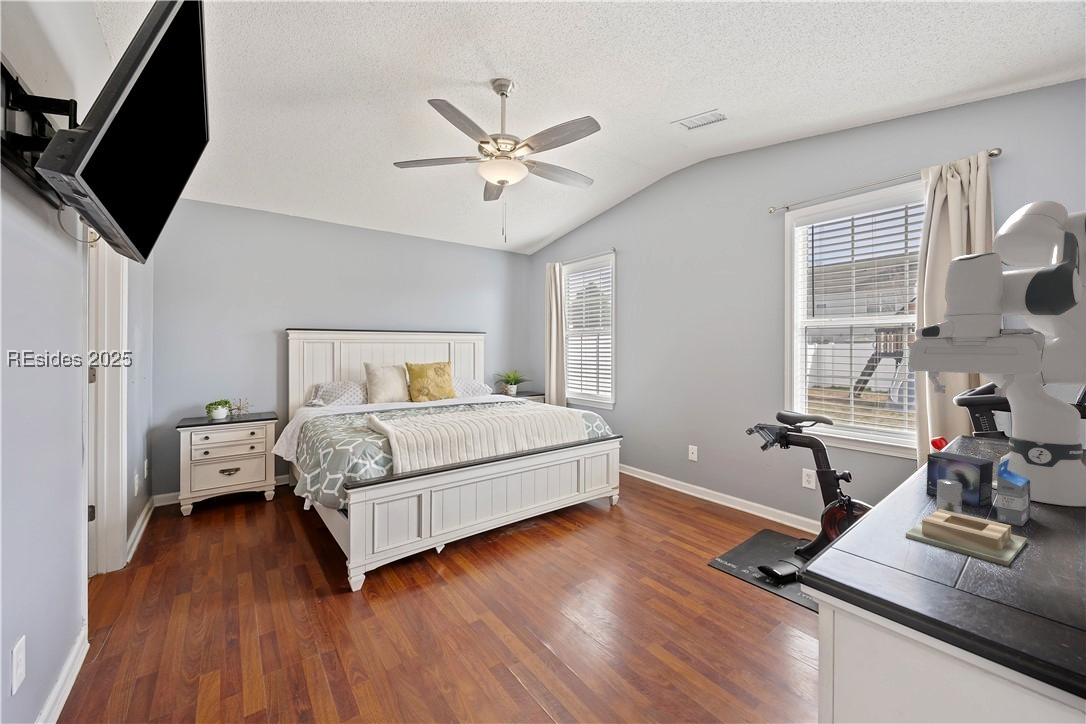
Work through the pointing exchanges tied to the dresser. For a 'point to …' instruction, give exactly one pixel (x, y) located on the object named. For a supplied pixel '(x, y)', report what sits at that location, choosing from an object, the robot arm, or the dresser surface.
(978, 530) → the hub block
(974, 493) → the small box
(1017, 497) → the label tape box
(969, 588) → the dresser surface
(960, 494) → the peg
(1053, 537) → the dresser surface
